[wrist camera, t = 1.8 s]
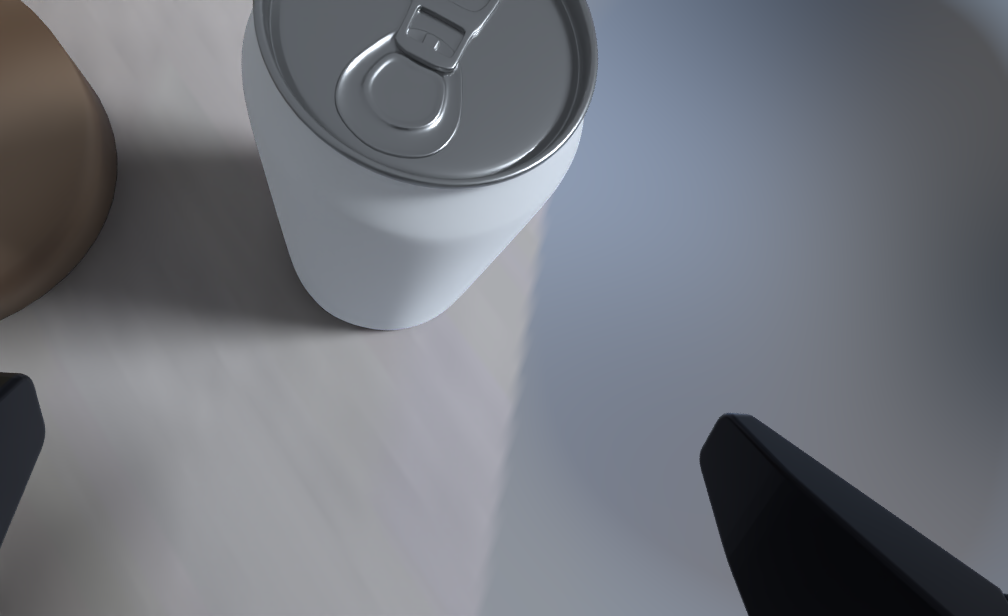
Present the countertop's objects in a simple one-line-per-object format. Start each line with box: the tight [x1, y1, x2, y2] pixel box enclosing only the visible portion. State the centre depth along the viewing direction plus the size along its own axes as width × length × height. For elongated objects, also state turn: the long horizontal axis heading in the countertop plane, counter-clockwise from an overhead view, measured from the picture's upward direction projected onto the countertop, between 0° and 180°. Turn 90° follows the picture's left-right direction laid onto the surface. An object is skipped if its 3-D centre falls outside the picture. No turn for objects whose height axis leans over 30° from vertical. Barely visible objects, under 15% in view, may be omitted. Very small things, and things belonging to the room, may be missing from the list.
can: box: [242, 0, 598, 330], centre depth 15 cm, size 6×6×12 cm
